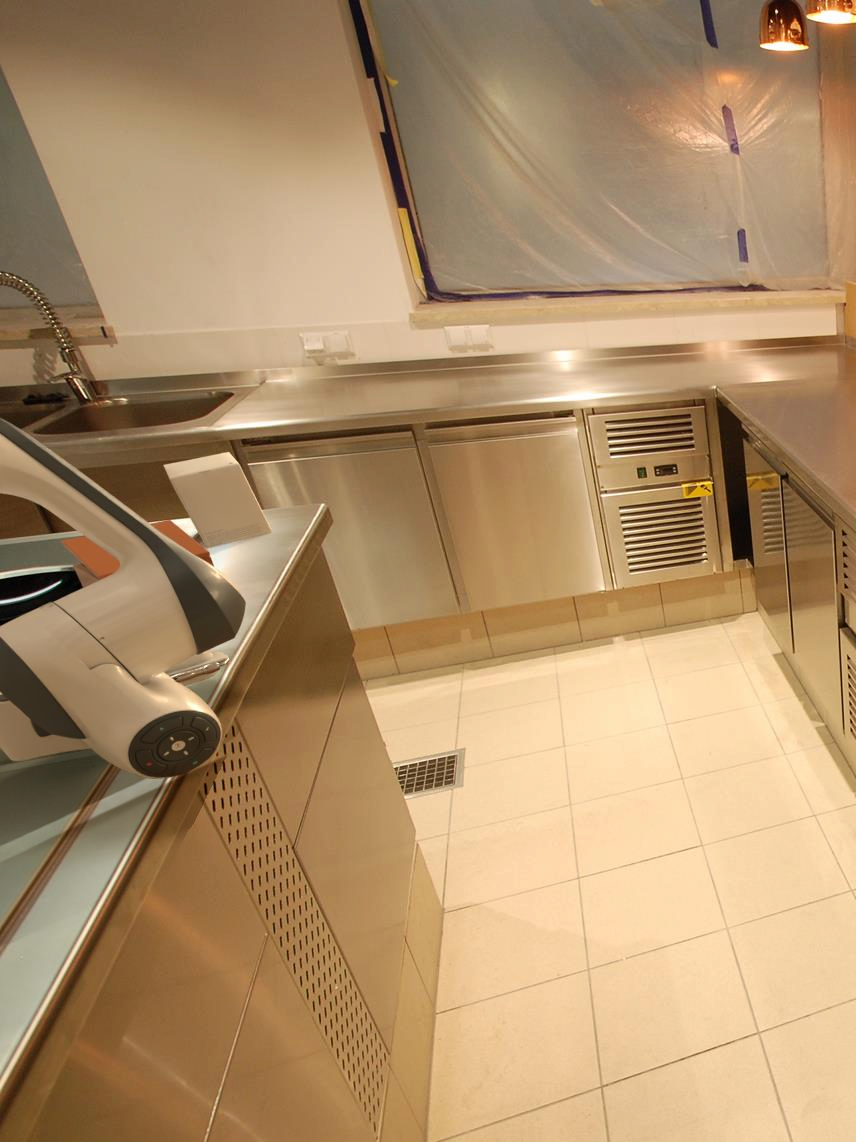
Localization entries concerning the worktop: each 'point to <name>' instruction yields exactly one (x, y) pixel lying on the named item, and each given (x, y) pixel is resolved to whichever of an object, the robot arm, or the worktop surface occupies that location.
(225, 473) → the white product box
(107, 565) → the tin lid
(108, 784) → the worktop surface
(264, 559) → the worktop surface
